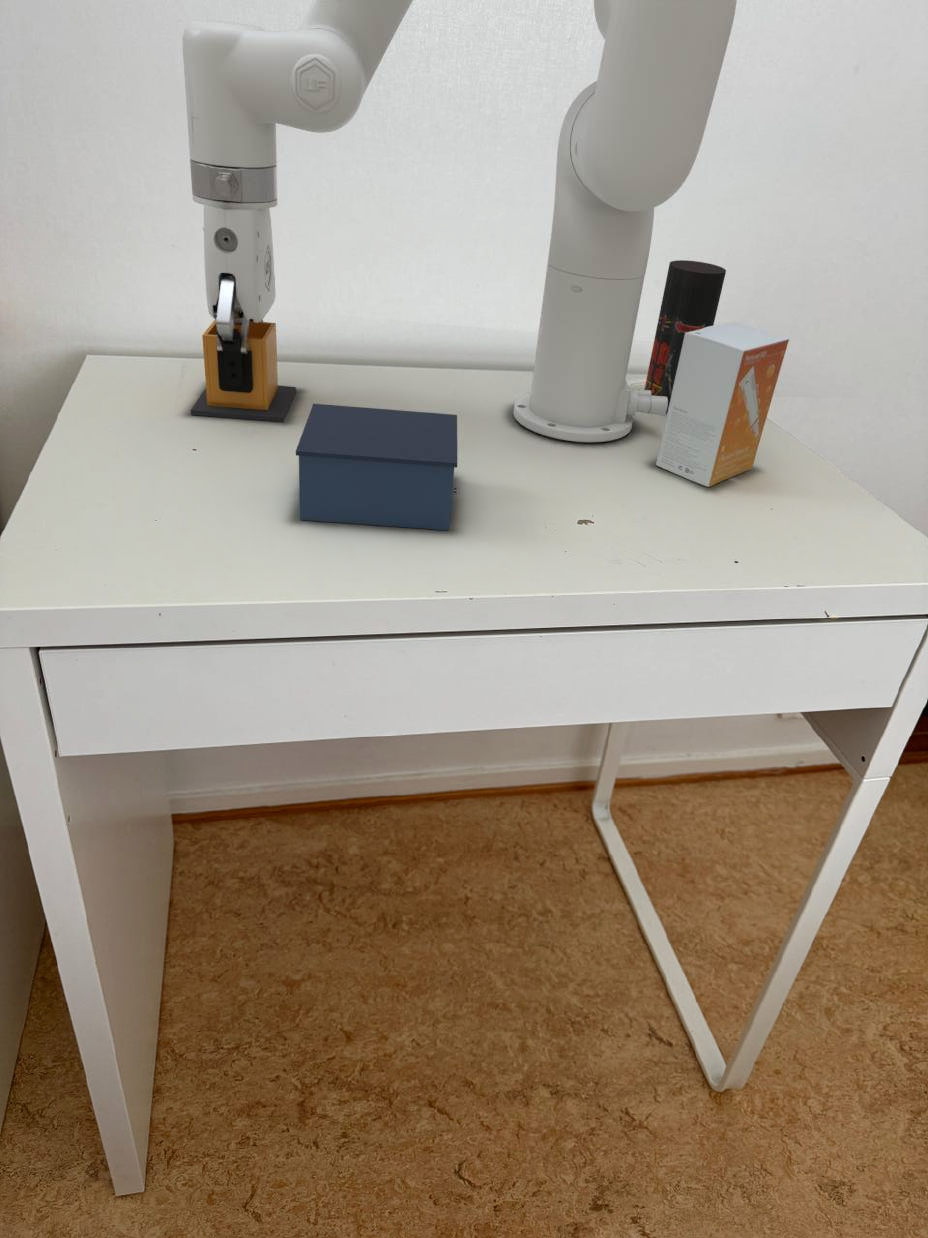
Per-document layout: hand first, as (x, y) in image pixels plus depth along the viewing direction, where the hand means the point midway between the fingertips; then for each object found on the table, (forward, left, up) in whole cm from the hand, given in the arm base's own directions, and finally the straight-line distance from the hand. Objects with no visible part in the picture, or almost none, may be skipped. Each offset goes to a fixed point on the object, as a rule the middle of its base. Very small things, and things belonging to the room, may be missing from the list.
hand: (242, 377), depth 92 cm
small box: (-46, +8, -3) cm, 47 cm away
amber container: (0, 0, -2) cm, 2 cm away
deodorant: (-46, -10, -3) cm, 47 cm away
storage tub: (-15, +20, -3) cm, 25 cm away
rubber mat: (0, 0, -3) cm, 3 cm away
